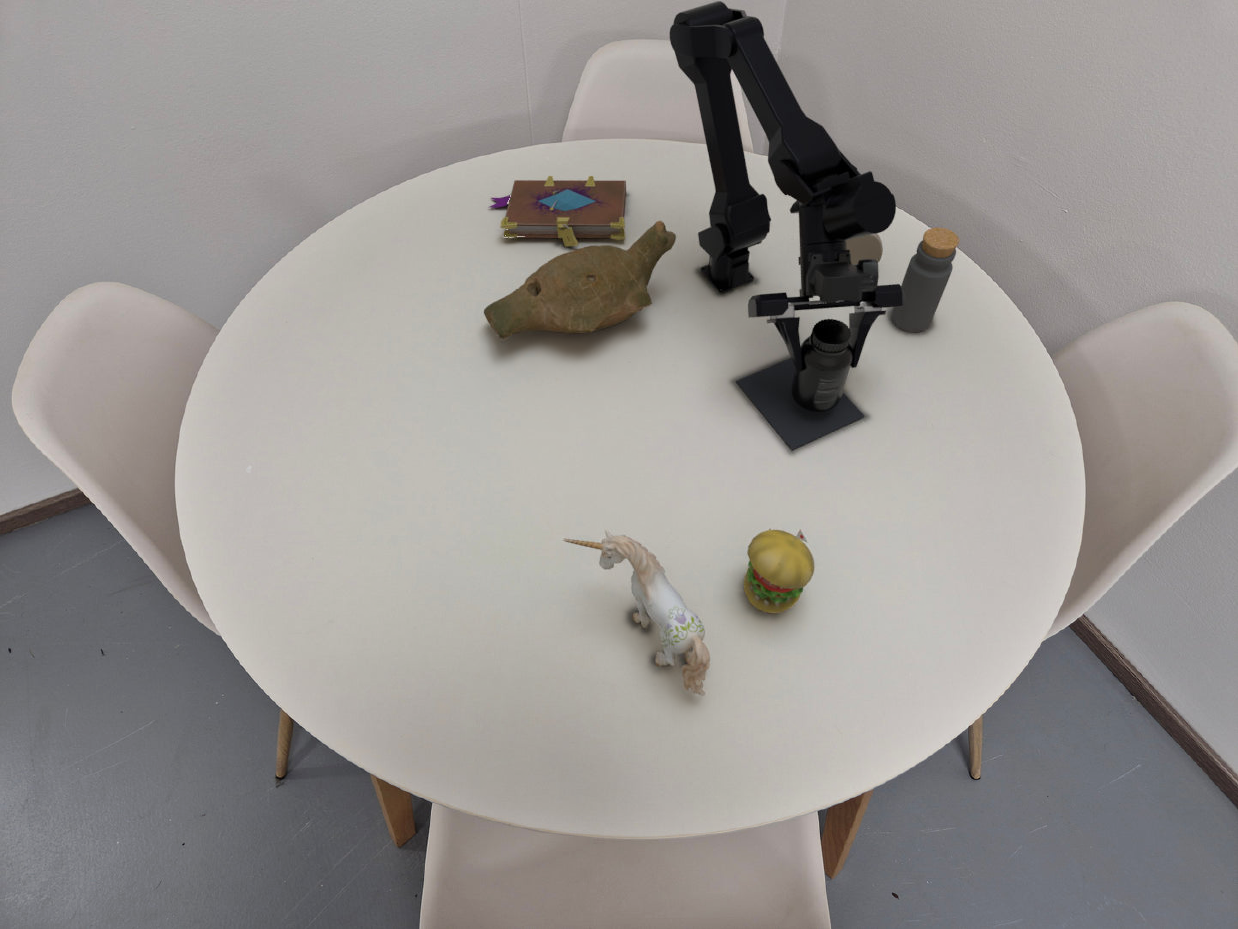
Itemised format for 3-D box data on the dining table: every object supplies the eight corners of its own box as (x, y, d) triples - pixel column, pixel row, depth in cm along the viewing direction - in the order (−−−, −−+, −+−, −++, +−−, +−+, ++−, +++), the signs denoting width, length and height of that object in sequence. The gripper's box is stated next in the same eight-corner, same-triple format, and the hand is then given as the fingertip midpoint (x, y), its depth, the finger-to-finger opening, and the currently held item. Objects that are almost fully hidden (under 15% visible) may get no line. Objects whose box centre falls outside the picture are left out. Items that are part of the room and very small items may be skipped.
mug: (871, 236, 128) (898, 210, 118) (857, 290, 127) (883, 268, 117) (829, 222, 127) (853, 195, 118) (815, 276, 126) (838, 253, 116)
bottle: (927, 306, 117) (960, 225, 105) (933, 333, 114) (967, 252, 102) (888, 305, 118) (916, 223, 106) (893, 332, 115) (922, 250, 102)
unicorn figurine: (614, 556, 94) (610, 497, 83) (739, 661, 86) (752, 610, 75) (572, 595, 91) (562, 539, 80) (697, 707, 83) (704, 661, 72)
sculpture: (481, 313, 106) (653, 183, 106) (478, 311, 121) (629, 198, 122) (541, 392, 109) (706, 266, 110) (531, 380, 124) (677, 270, 125)
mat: (735, 382, 110) (735, 380, 110) (804, 352, 113) (805, 351, 112) (791, 450, 102) (792, 449, 102) (864, 417, 105) (864, 415, 105)
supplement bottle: (846, 384, 106) (866, 321, 96) (832, 420, 102) (852, 358, 93) (798, 370, 108) (813, 306, 98) (783, 404, 104) (797, 342, 94)
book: (493, 195, 139) (488, 170, 135) (628, 196, 138) (628, 170, 134) (478, 249, 129) (473, 223, 125) (624, 250, 127) (624, 224, 124)
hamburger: (726, 585, 91) (736, 533, 81) (770, 552, 93) (785, 498, 84) (772, 633, 87) (788, 585, 78) (817, 597, 90) (837, 546, 80)
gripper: (763, 243, 88) (769, 378, 91) (923, 231, 88) (924, 366, 91) (744, 253, 99) (750, 373, 102) (887, 242, 99) (888, 363, 102)
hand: (826, 369), depth 99 cm, fingers closed on supplement bottle, 7 cm apart
